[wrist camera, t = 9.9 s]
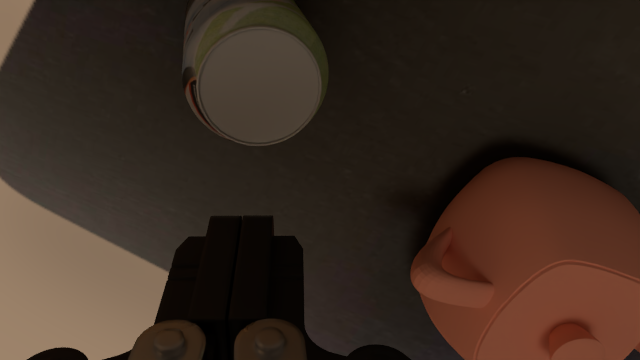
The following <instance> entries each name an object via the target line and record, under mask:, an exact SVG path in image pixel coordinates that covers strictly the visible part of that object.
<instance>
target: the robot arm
mask: <svg viewBox="0 0 640 360" xmlns="http://www.w3.org/2000/svg"><path fill="white" fill-rule="evenodd" d="M27 360H88V358H87V357H86V356H85V355H84V354H83V353H82V352H80V351H79V350H76V349H72V348H54V349H49V350H46V351H43V352H40V353H38V354H36V355H34V356H32V357H30V358H29V359H27ZM104 360H411V359H410V358H408V357H407V356H406V355H405V354H403V353H402V352H400V351H398V350H396V349H394V348H392V347H389V346H385V345H367V346H363V347H360V348H358V349H356V350H354V351H353V352H351V353H350V354H349V355H348V356H347V357H346V356H342V355H339V354H335V353H332V352H328V351H326V350H324V349H322V348H320V347H319V346H317V345H316V344H315V343H314V342H313V341H312V340H311V339H310V338H309V336H308V335H307V333H306V330H305V325H304V274H303V248H302V247H301V245H300V244H299V242H298V241H297V239H296V238H295V236H274V221H273V216H243V220H242V216H211V217H210V221H209V225H208V230H207V234H206V237H188V238H187V239H186V240H185V241H184V242H183V243H182V244H181V245H180V246H179V247H178V248H177V249H176V252H175V255H174V258H173V262H172V268H171V269H170V272H169V275H168V281H167V282H166V286H165V289H164V292H163V296H162V299H161V303H160V306H159V309H158V313H157V316H156V319H155V323H154V325H153V326H151V327H149V328H148V329H147V330H145V331H144V332H143V333H142V334H141V335H140V336H139V337H138V338H137V340H136V342H135V344H134V346H133V349H132V350H130V351H128V352H126V353H123V354H121V355H118V356H115V357H111V358H107V359H104Z"/></svg>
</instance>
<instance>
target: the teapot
mask: <svg viewBox="0 0 640 360" xmlns="http://www.w3.org/2000/svg"><path fill="white" fill-rule="evenodd" d="M410 275H411V281H412V283H413V285H414V287H415V288H416V289H417V290H418V291H419V292H420V296H421V299H422V301H423V304H424V306H425V308H426V310H427V312H428V314H429V316H430V318H431V320H432V322H433V323H434V325H435V326H436V327H437V329H438V330H439V332H440V333H441V335H442V336H443V337H444V338H445V339H446V341H447V342H448V343H449V344H450V345H451V346H452V347H453V348H454V349H455V350H456V351H457V352H458V353H459V354H460V355H461V356H462V357H463V358H464V359H465V360H623V359H624V358H625V357H626V356H628V355H629V353H630V352H631V351H632V350H633V349H636V350H637V351H638V352H639V353H640V214H639V213H638V211H637V210H636V209H635V207H634V206H633V205H632V204H631V202H630V201H629V200H628V199H627V198H626V197H625V196H624V195H623V194H621V193H620V192H618V191H617V190H615V189H614V188H612V187H611V186H609V185H607V184H605V183H604V182H602V181H600V180H598V179H596V178H594V177H592V176H590V175H588V174H586V173H583V172H581V171H579V170H576V169H573V168H570V167H567V166H564V165H560V164H557V163H553V162H549V161H545V160H540V159H534V158H529V157H511V158H506V159H502V160H499V161H497V162H494V163H493V164H491V165H489V166H487V167H486V168H484V169H483V170H482V171H481V172H480V173H479V174H477V175H476V176H475V177H474V178H473V179H472V180H471V181H470V182H469V183H468V184H467V185H466V186H465V187H464V188H463V189H462V190H461V191H460V192H459V193H458V194H457V195H456V196H455V198H454V199H453V200H452V201H451V202H450V204H449V205H448V206H447V208H446V209H445V210H444V212H443V213H442V215H441V216H440V218H439V220H438V221H437V223H436V225H435V227H434V228H433V230H432V232H431V235H430V237H429V239H428V241H427V243H426V245H425V246H424V247H423V248H422V249H421V250H420V251H419V253H418V254H417V255H416V257H415V258H414V261H413V263H412V266H411V274H410Z"/></svg>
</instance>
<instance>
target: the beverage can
mask: <svg viewBox="0 0 640 360" xmlns="http://www.w3.org/2000/svg"><path fill="white" fill-rule="evenodd" d="M328 74H329V68H328V61H327V56H326V53H325V50H324V47H323V44H322V42H321V41H320V39H319V37H318V35H317V34H316V32H315V31H314V29H313V28H312V26H311V25H310V23H309V22H308V20H307V19H306V18H305V16H304V15H303V13H302V12H301V10H300V9H299V7H298V6H297V5H296V3H295V2H294V0H189V1H188V5H187V9H186V18H185V33H184V48H183V64H182V81H183V88H184V91H185V95H186V98H187V101H188V103H189V105H190V106H191V108H192V110H193V112H194V113H195V114H196V116H197V117H198V118H199V120H200V121H201V122H202V123H203V124H204V125H205V126H207V127H208V128H209V129H210V130H211V131H213V132H214V133H216V134H218V135H219V136H221V137H223V138H226V139H228V140H230V141H234V142H237V143H241V144H245V145H252V146H265V145H271V144H276V143H279V142H282V141H284V140H287V139H288V138H290V137H292V136H294V135H295V134H297V133H298V132H299V131H300V130H301V129H303V128H304V127H305V126H306V124H308V122H309V121H310V120H311V119H312V118H313V117H314V115H315V114H316V113H317V111H318V109H319V108H320V106H321V104H322V102H323V99H324V97H325V94H326V90H327V85H328Z"/></svg>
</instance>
